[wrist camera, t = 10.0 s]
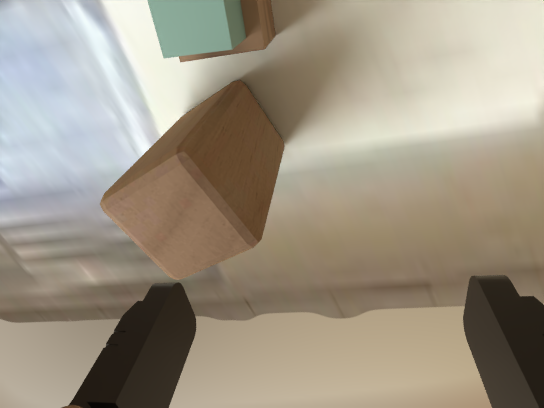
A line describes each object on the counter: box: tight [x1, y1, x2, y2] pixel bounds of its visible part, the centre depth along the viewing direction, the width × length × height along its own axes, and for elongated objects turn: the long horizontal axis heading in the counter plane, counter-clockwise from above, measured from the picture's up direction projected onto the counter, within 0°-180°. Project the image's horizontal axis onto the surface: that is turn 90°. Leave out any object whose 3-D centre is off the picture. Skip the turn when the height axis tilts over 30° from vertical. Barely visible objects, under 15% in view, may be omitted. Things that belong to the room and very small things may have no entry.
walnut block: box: [179, 0, 276, 62], centre depth 33 cm, size 8×8×8 cm
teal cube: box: [148, 0, 246, 58], centre depth 28 cm, size 6×6×6 cm
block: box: [100, 80, 284, 279], centre depth 36 cm, size 10×10×20 cm
